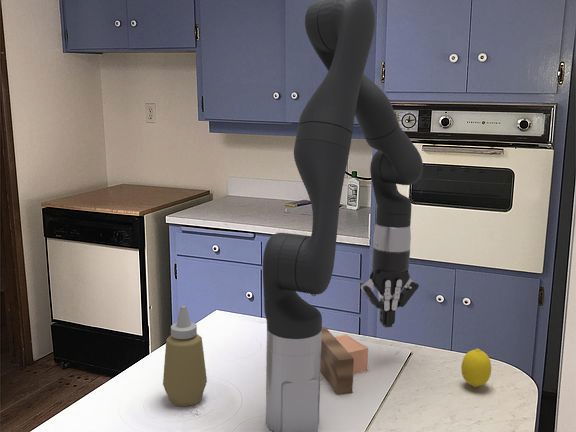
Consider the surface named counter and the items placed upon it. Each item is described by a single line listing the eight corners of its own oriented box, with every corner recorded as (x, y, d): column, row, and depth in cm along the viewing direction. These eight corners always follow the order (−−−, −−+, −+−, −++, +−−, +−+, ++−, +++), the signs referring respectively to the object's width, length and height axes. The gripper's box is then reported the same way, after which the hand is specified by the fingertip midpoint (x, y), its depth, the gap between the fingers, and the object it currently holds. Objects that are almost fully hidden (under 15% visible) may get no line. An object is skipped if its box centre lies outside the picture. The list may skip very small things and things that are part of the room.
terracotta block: (367, 370, 125) (368, 348, 124) (347, 375, 123) (348, 352, 122) (345, 355, 132) (346, 334, 131) (325, 360, 130) (326, 338, 129)
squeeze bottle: (168, 387, 117) (166, 298, 113) (210, 389, 116) (209, 299, 113) (158, 409, 109) (155, 314, 105) (203, 411, 108) (201, 315, 105)
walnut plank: (352, 392, 116) (353, 358, 114) (337, 394, 115) (338, 360, 114) (324, 357, 131) (325, 326, 129) (310, 358, 130) (311, 328, 129)
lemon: (494, 387, 119) (497, 349, 117) (481, 397, 115) (485, 357, 113) (468, 377, 123) (471, 340, 121) (454, 387, 119) (457, 349, 117)
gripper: (369, 251, 120) (364, 335, 123) (429, 249, 123) (423, 330, 127) (354, 243, 127) (351, 322, 130) (412, 240, 131) (407, 317, 134)
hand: (387, 325), depth 128 cm, fingers closed
